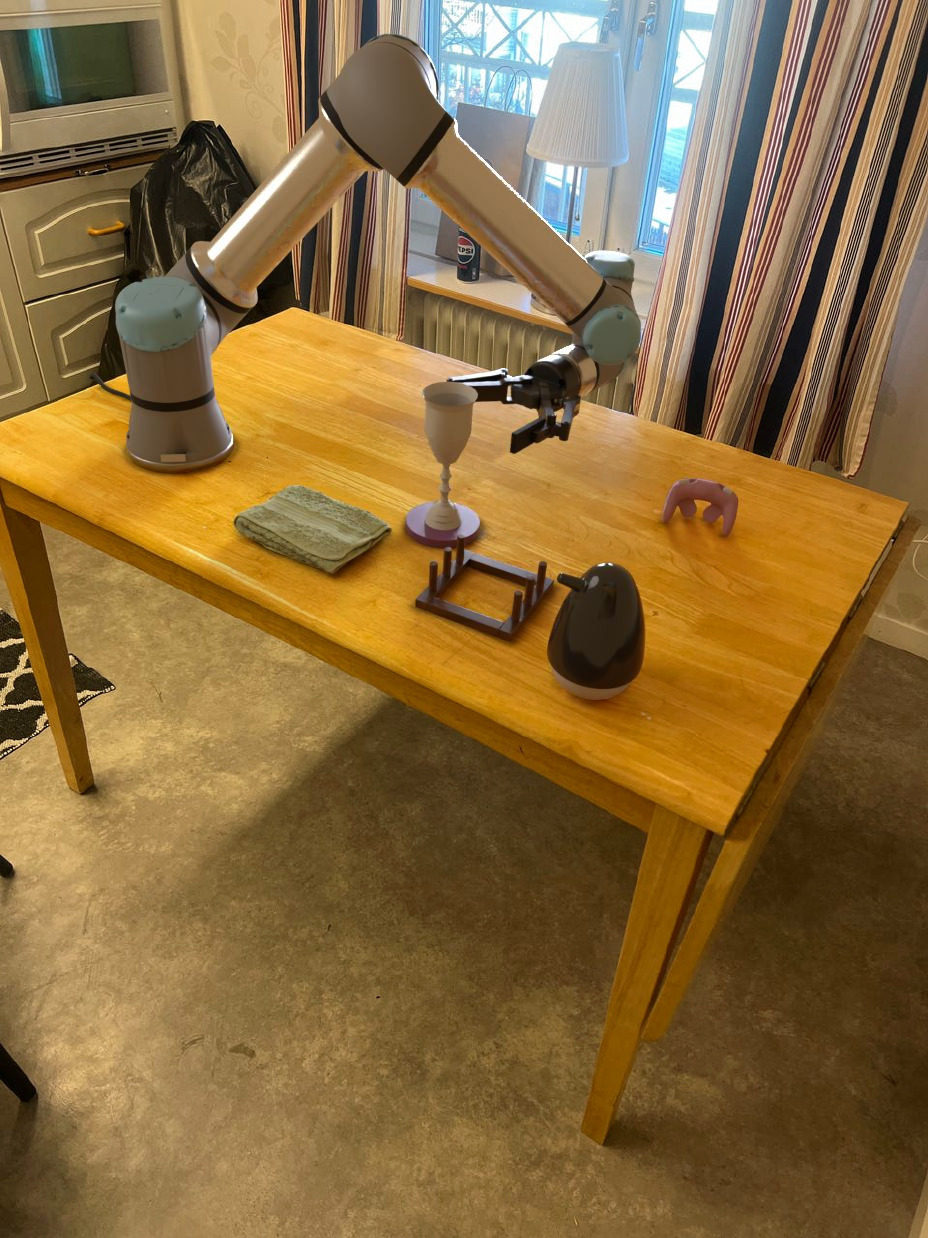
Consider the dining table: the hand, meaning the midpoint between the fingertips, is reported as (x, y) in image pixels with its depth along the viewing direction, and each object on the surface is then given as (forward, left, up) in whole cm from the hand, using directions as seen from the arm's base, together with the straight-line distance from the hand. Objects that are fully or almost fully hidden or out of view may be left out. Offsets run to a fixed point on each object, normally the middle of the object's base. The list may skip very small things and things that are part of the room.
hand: (470, 426), depth 115 cm
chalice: (-1, -5, -12) cm, 13 cm away
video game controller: (+29, +16, -13) cm, 36 cm away
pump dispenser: (+28, -24, -13) cm, 39 cm away
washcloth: (-14, -16, -13) cm, 25 cm away
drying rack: (+11, -16, -13) cm, 23 cm away
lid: (-1, -5, -13) cm, 14 cm away
